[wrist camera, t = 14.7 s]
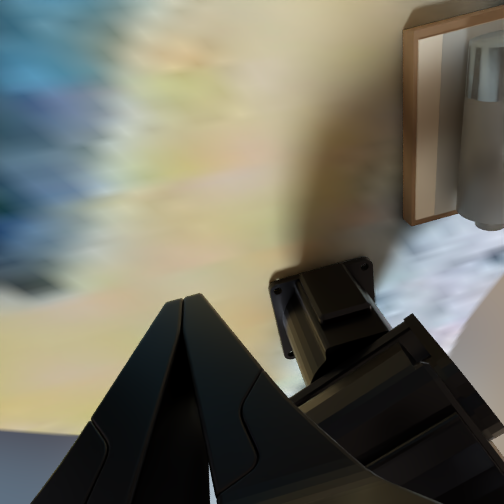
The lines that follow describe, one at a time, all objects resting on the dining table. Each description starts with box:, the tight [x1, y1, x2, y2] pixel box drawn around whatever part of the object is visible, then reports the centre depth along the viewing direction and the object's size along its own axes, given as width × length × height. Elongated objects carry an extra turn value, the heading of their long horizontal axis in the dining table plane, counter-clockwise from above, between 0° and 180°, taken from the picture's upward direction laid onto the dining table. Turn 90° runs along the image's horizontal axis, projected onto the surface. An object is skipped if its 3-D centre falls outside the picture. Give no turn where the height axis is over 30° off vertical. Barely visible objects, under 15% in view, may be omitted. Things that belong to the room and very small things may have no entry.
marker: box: [456, 30, 504, 231], centre depth 19 cm, size 9×3×3 cm, turn 12°
